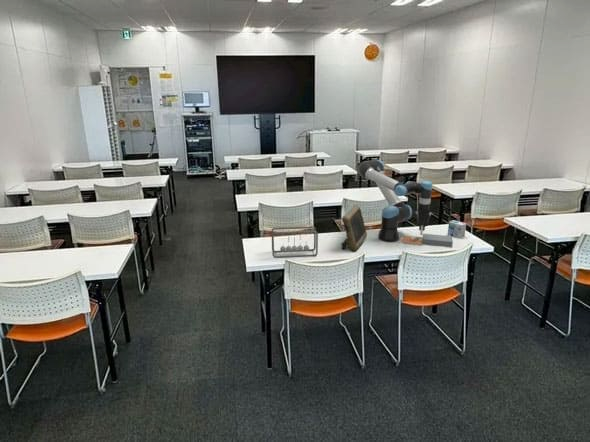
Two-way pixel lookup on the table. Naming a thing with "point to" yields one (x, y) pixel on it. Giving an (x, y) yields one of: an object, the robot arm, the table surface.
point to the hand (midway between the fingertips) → (421, 234)
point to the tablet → (354, 229)
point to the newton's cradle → (294, 248)
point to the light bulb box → (456, 229)
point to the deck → (437, 240)
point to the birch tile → (416, 239)
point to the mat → (409, 240)
